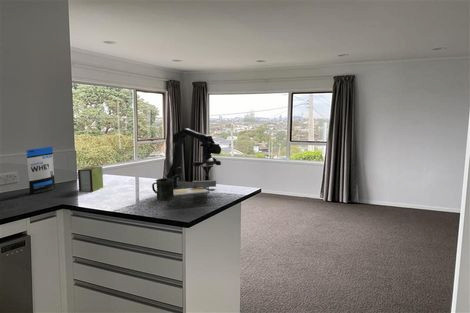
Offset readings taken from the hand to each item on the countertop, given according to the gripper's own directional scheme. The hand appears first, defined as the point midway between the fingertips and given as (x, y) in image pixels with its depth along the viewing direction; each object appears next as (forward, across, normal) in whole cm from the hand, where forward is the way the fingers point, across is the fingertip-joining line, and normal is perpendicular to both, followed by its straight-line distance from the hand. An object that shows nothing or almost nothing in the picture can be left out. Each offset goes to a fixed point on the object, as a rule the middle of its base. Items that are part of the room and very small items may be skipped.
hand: (206, 175), depth 240 cm
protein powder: (+12, -104, +48) cm, 115 cm away
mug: (+11, -32, -8) cm, 35 cm away
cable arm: (+9, 0, +7) cm, 11 cm away
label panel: (+11, -12, +2) cm, 16 cm away
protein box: (+12, -73, +40) cm, 84 cm away
